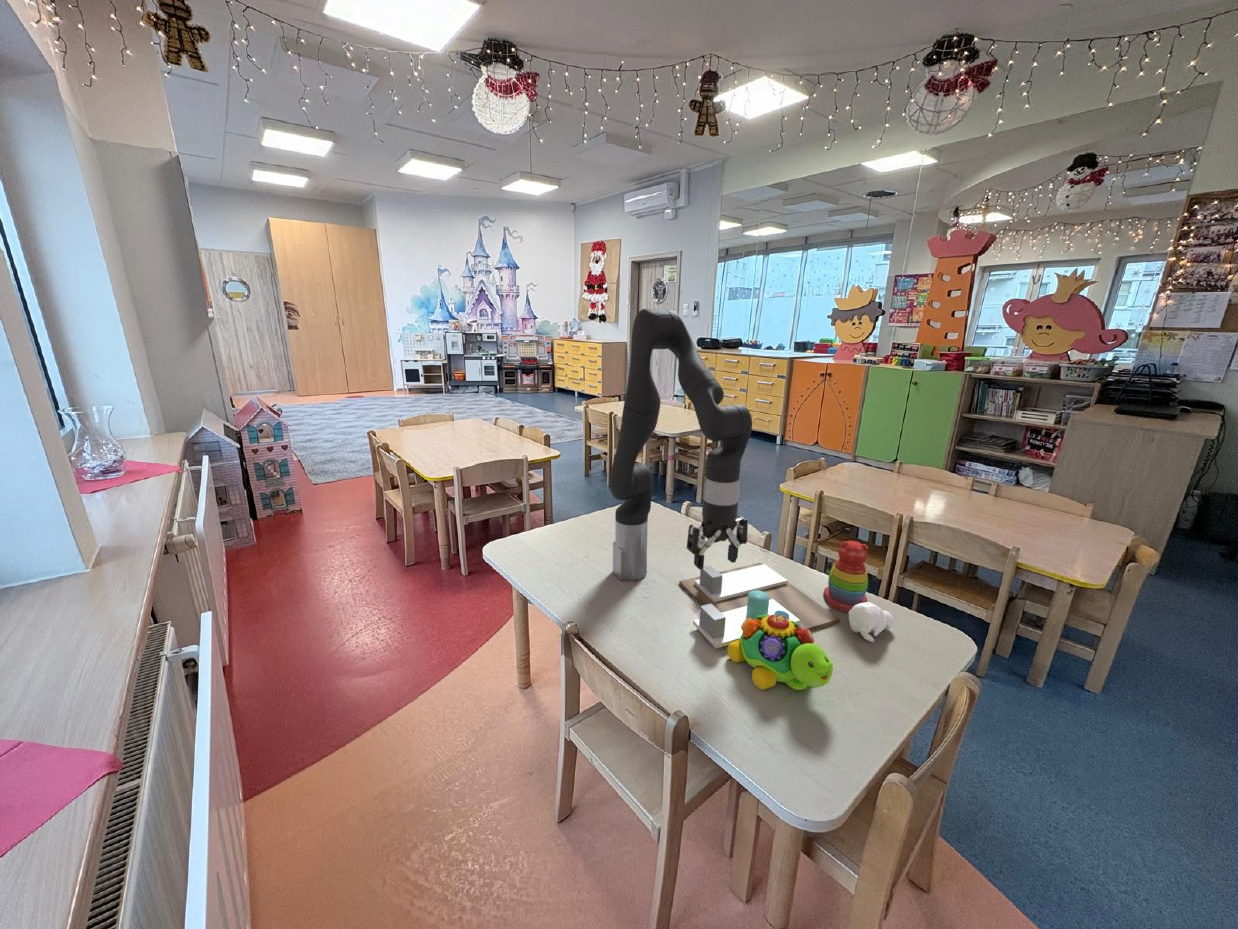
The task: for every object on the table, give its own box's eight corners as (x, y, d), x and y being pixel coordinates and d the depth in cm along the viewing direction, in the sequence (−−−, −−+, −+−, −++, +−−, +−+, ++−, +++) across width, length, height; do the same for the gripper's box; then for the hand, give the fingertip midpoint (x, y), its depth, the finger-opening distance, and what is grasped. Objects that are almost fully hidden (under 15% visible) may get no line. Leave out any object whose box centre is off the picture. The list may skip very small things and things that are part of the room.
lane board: (746, 650, 114) (746, 646, 114) (679, 584, 141) (679, 581, 141) (839, 622, 125) (839, 618, 124) (759, 565, 152) (760, 562, 152)
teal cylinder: (754, 625, 120) (756, 603, 118) (742, 614, 124) (743, 593, 122) (771, 620, 121) (773, 599, 120) (758, 609, 126) (760, 588, 124)
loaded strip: (716, 648, 113) (717, 625, 111) (692, 623, 122) (694, 602, 120) (799, 623, 122) (802, 602, 120) (772, 602, 131) (774, 582, 129)
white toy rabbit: (849, 599, 119) (882, 591, 124) (841, 631, 121) (874, 622, 126) (872, 613, 113) (906, 605, 119) (864, 646, 115) (897, 636, 121)
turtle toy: (787, 724, 94) (794, 672, 91) (717, 650, 115) (720, 605, 111) (854, 698, 101) (863, 649, 97) (776, 632, 121) (781, 589, 117)
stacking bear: (866, 598, 135) (877, 538, 130) (867, 618, 126) (878, 554, 121) (824, 588, 139) (832, 530, 134) (821, 607, 131) (830, 545, 125)
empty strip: (714, 602, 131) (715, 581, 129) (694, 583, 140) (695, 564, 138) (787, 583, 140) (789, 564, 138) (764, 567, 148) (765, 548, 147)
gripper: (701, 508, 102) (697, 578, 107) (758, 498, 107) (752, 566, 112) (683, 495, 108) (679, 562, 113) (737, 487, 114) (732, 551, 119)
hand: (715, 564), depth 113 cm, fingers open, 8 cm apart
